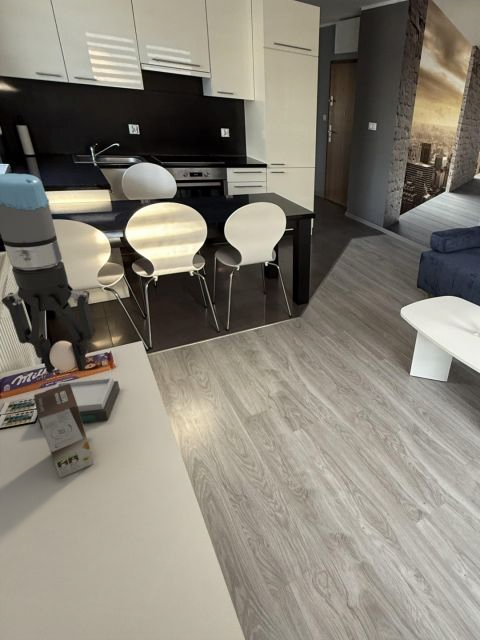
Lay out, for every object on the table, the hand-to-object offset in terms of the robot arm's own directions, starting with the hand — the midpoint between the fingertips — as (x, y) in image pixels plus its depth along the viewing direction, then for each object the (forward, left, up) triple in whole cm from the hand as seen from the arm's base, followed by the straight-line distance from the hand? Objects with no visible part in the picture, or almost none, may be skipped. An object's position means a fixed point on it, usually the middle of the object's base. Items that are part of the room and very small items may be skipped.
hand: (67, 367), depth 82 cm
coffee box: (-2, -5, -20) cm, 21 cm away
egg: (0, 0, -1) cm, 1 cm away
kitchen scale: (-5, +12, -20) cm, 24 cm away
